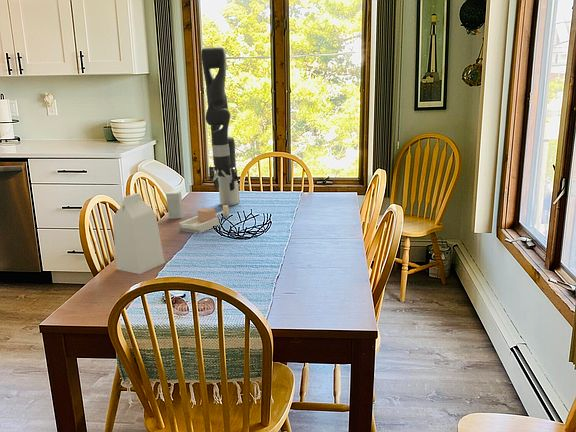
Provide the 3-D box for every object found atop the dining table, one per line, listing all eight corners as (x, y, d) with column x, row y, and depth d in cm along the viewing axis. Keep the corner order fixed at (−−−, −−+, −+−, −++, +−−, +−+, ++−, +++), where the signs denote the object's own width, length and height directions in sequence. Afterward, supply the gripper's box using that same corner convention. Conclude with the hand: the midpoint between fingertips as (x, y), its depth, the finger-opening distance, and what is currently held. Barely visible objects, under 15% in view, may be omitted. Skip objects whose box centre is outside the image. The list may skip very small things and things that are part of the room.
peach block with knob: (222, 213, 260) (221, 201, 258) (233, 215, 257) (232, 202, 255) (198, 223, 246) (197, 210, 245) (209, 225, 243) (207, 211, 242)
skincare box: (183, 216, 263) (181, 191, 260) (181, 218, 259) (178, 193, 256) (171, 216, 264) (168, 191, 261) (168, 218, 260) (165, 193, 257)
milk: (139, 274, 193) (130, 200, 186) (116, 269, 199) (106, 197, 192) (164, 262, 202) (156, 192, 195) (141, 258, 208) (133, 190, 201)
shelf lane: (200, 222, 251) (199, 215, 250) (219, 225, 245) (218, 217, 244) (180, 230, 240) (179, 222, 239) (199, 233, 235) (199, 225, 234)
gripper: (239, 153, 249) (242, 188, 254) (214, 151, 256) (217, 186, 261) (229, 156, 243) (232, 193, 248) (203, 154, 250) (206, 190, 255)
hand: (224, 189), depth 255 cm, fingers open, 8 cm apart
